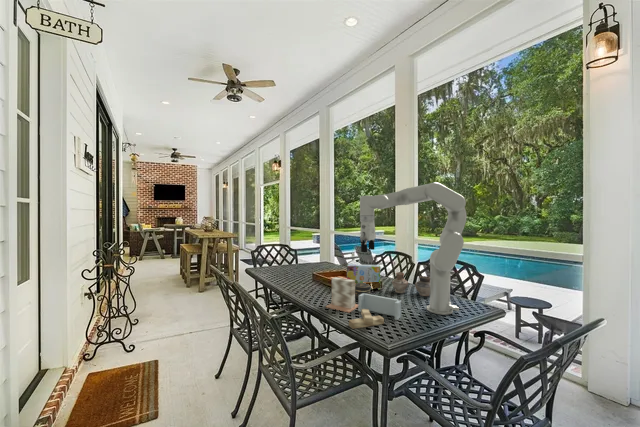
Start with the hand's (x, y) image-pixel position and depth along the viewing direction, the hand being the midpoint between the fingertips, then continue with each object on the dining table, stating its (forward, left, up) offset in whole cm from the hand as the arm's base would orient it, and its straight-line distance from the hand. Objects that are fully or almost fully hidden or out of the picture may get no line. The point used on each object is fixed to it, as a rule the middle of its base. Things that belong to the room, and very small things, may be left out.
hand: (367, 250), depth 162 cm
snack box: (+16, -29, -30) cm, 45 cm away
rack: (-10, +8, -30) cm, 32 cm away
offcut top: (-10, +23, -27) cm, 37 cm away
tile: (+10, +9, -30) cm, 33 cm away
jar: (+8, -10, -30) cm, 32 cm away
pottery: (-14, -36, -30) cm, 49 cm away
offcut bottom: (-10, +24, -30) cm, 40 cm away
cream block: (+10, +9, -29) cm, 32 cm away
